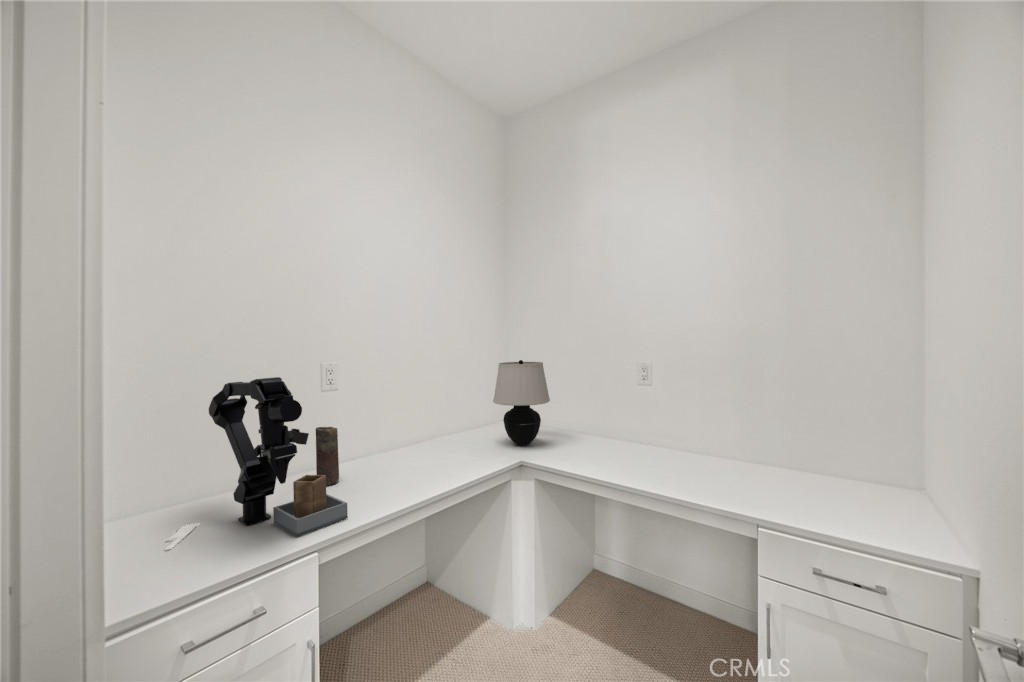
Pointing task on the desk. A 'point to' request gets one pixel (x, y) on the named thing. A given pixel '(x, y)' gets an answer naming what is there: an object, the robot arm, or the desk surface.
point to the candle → (327, 454)
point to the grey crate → (309, 517)
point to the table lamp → (521, 398)
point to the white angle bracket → (180, 535)
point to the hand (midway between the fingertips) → (278, 481)
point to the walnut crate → (309, 495)
